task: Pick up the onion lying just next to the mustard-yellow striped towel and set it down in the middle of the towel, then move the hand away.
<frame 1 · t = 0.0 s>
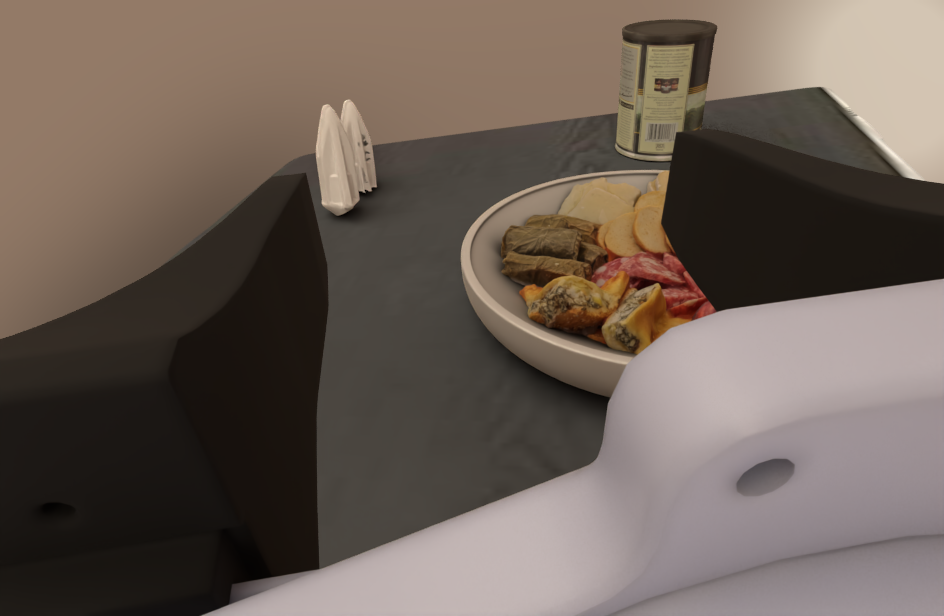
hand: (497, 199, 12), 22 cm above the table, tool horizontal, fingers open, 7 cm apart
shaker set: (352, 203, 68), on the table
bowl: (654, 301, 48), on the table
coffee can: (655, 149, 77), on the table
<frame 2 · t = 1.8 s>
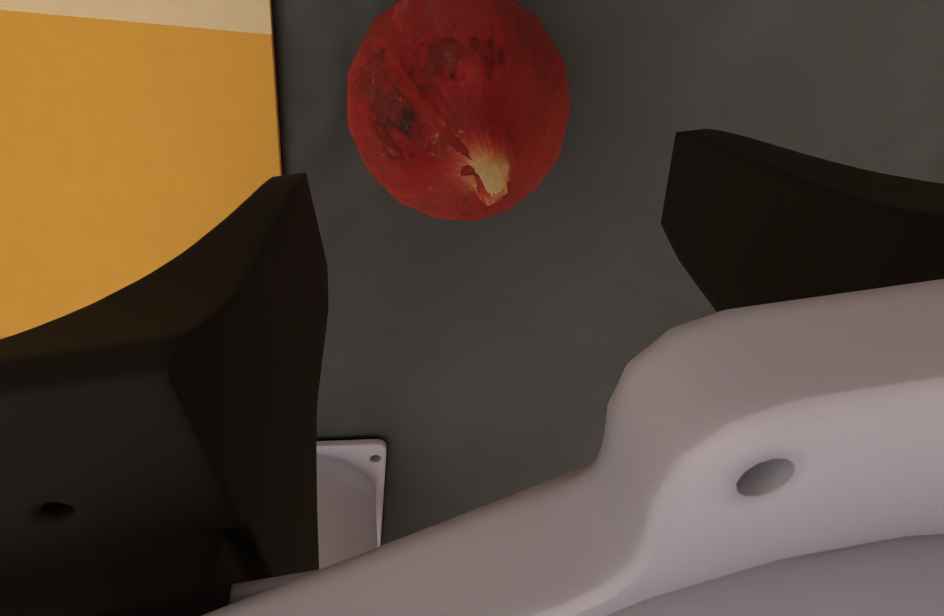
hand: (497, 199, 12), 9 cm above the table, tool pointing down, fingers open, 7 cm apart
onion: (440, 64, 19), on the table
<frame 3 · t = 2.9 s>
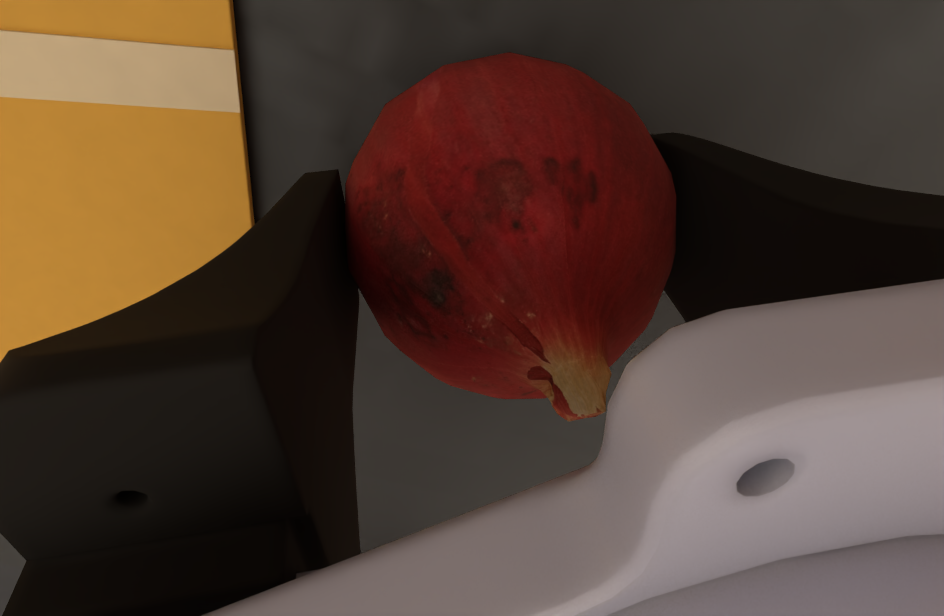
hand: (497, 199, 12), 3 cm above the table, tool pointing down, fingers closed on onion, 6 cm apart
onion: (473, 143, 14), on the table, touching gripper
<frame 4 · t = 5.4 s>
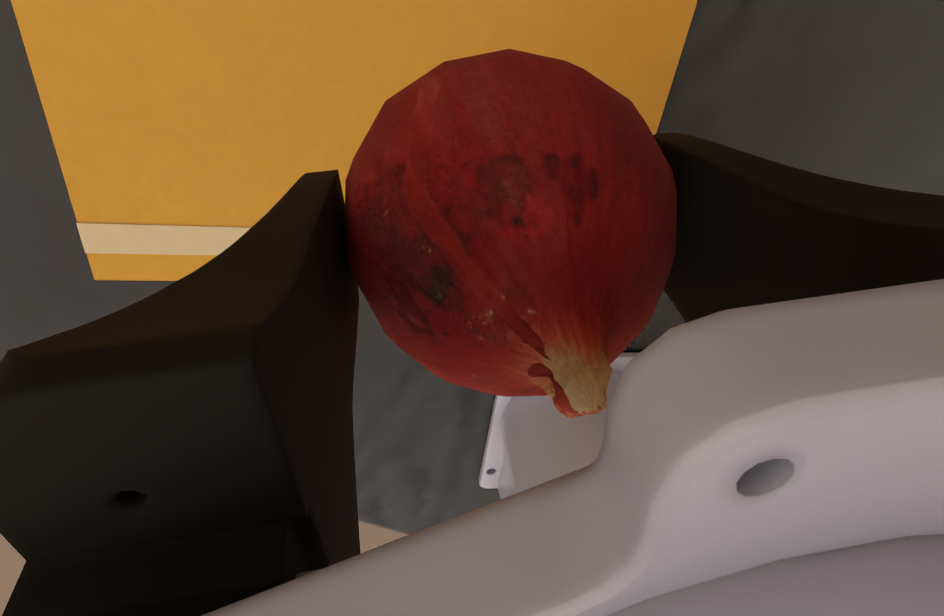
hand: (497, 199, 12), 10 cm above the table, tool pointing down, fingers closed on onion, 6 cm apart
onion: (473, 141, 14), point 7 cm above the table, touching gripper
towel: (378, 72, 20), on the table
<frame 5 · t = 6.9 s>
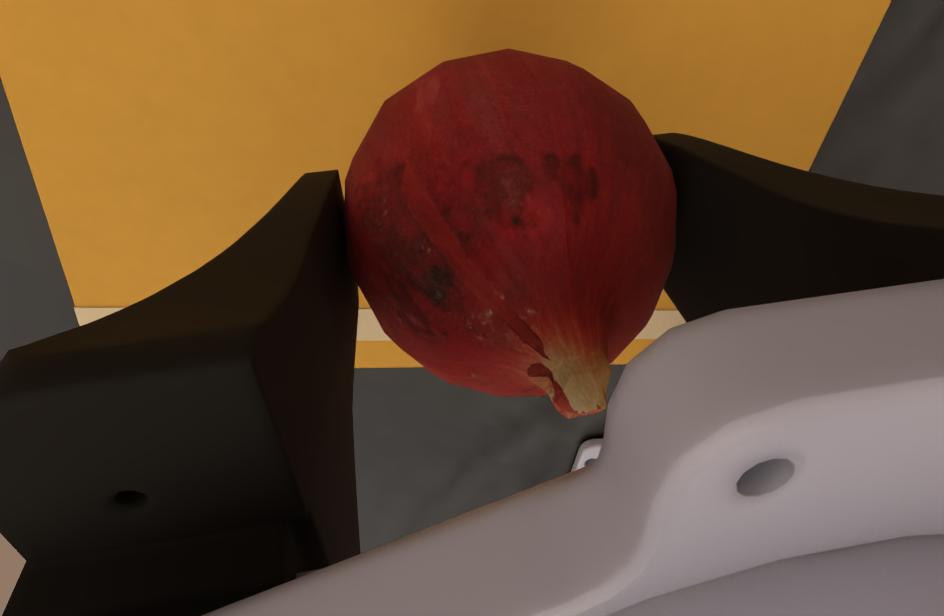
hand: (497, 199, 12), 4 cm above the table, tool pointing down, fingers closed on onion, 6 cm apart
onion: (472, 141, 14), point 1 cm above the table, touching gripper
towel: (465, 120, 15), on the table
when the fingers open (3 cm above the table, at t = 7.9 s): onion stays where it is, resting on towel.
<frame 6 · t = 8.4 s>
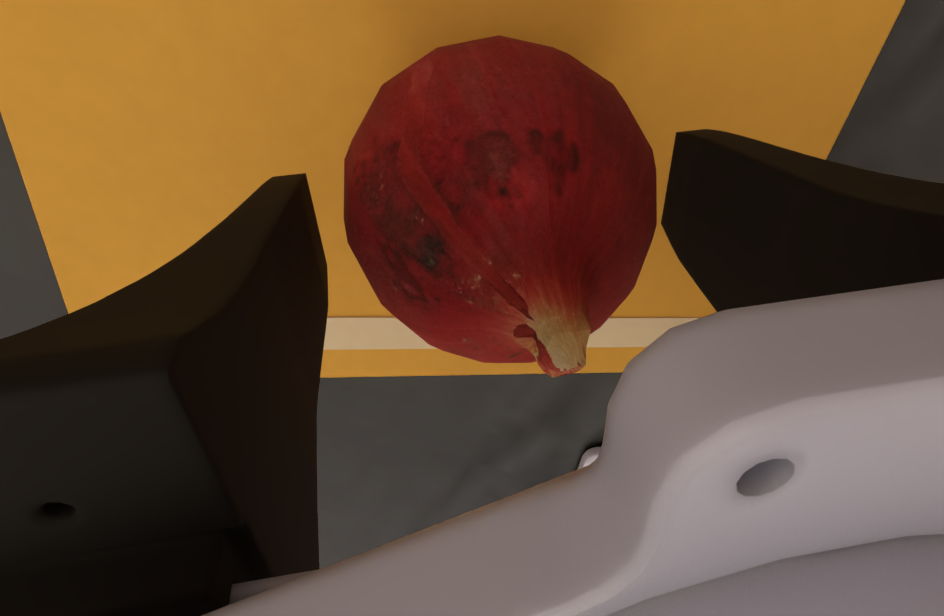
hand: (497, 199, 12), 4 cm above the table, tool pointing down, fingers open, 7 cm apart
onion: (467, 127, 15), resting on towel
towel: (467, 126, 15), on the table
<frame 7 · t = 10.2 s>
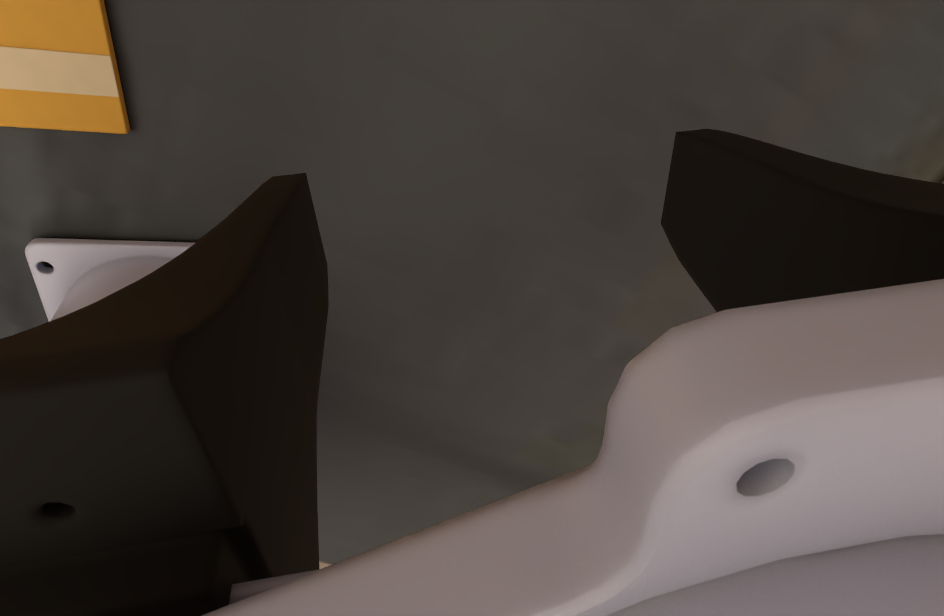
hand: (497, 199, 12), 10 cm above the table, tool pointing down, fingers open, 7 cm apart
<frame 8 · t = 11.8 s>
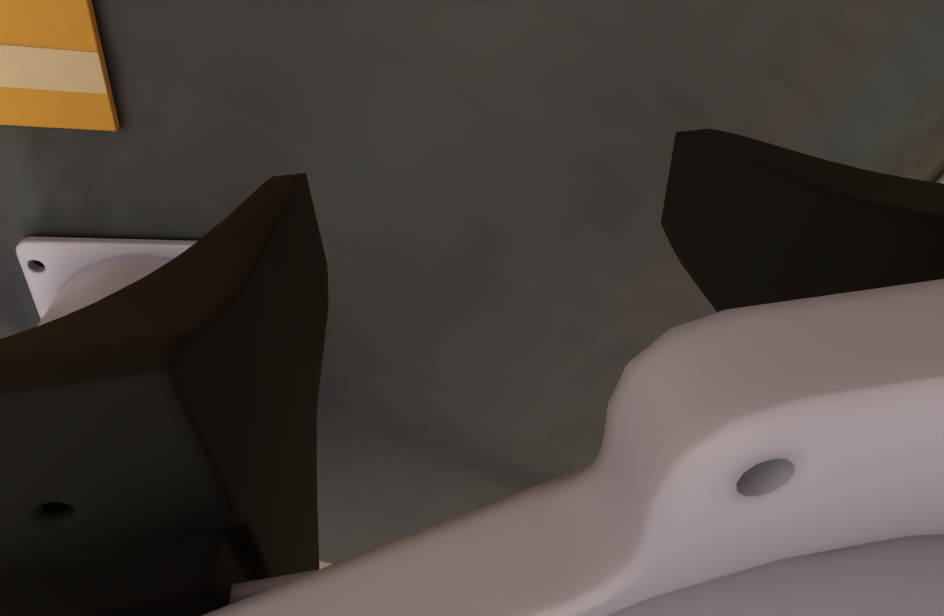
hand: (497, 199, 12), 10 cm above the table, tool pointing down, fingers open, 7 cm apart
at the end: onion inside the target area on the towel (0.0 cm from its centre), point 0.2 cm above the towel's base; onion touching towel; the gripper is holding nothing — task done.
